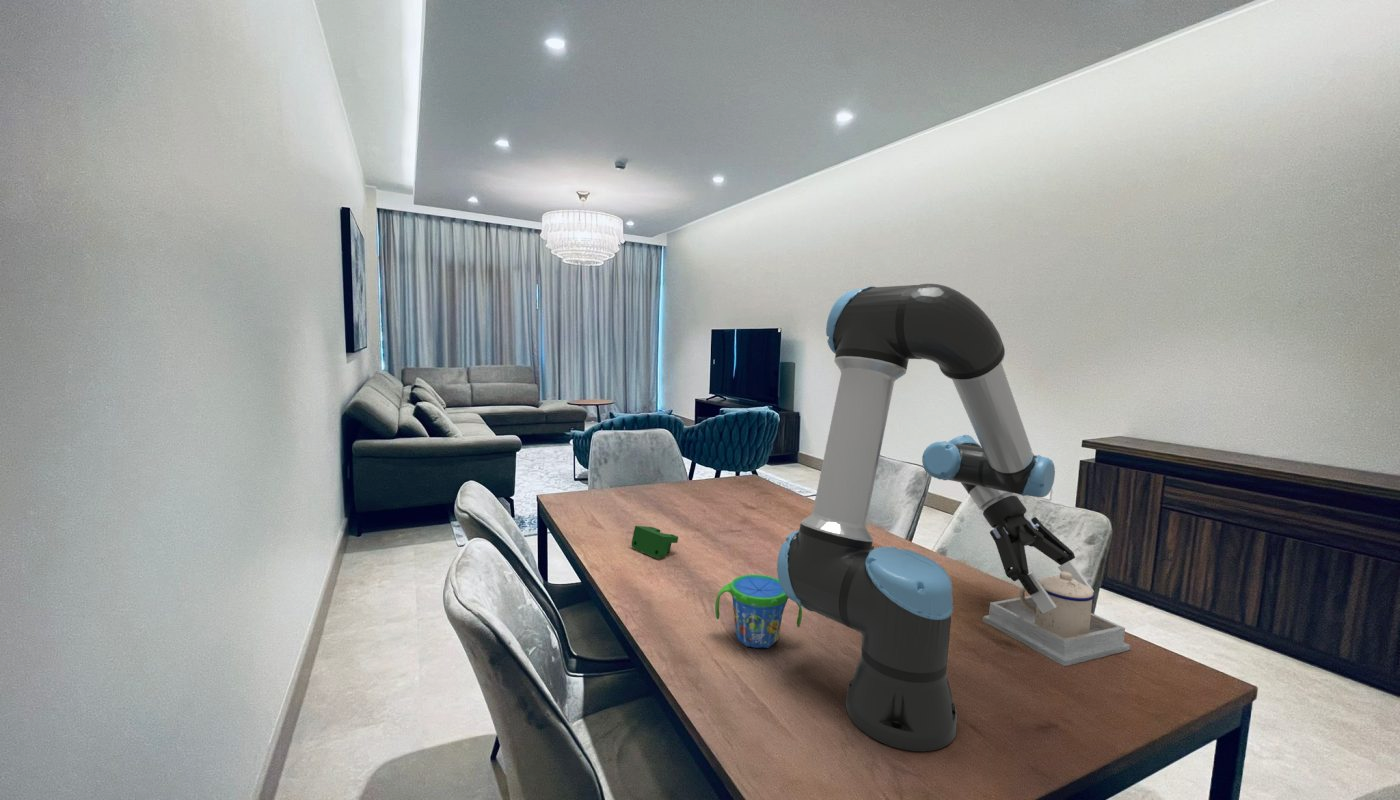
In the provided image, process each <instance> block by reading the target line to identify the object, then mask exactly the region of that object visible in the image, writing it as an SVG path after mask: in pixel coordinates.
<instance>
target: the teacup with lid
mask: <svg viewBox="0 0 1400 800" xmlns="http://www.w3.org/2000/svg"><path fill="white" fill-rule="evenodd" d="M1038 581H1039V582H1040V584H1041V585H1042V586H1043V588H1044V589H1045V591H1046V592H1047V594H1048V595H1049V596H1050V598H1051V599H1052V601H1053V602H1054V604H1055V605H1056V606H1057V607H1055V608H1053V609H1051V610H1049V611H1047V612H1045V613H1042V612H1041V611H1040V609H1039V608H1038V606H1037V605H1036V609H1035V608H1033V607H1031V606H1030V605H1029V604H1028V603H1027V602H1026V600H1025V592H1026V589H1025V587H1024V586H1022V588H1020V590H1019V593H1018V598H1019V597H1020V601H1021V603H1022V605H1023V606H1024V607H1025V608H1026V609H1027V610H1029V611H1031V612H1033V613H1036V615H1035V624H1037V625H1039V626H1041V627H1042V628H1044V629H1046V630H1048V631H1050V632H1052V633H1054V634H1056V635H1058V636H1060V637H1062V638H1064V639H1065V638H1069V637H1074V636H1078V635H1083V634H1087V633H1089V629H1090V618H1091V613H1092V607H1093V606H1092V605H1093V599H1094V598H1095V594H1094V592H1093V591H1094V590H1093V591H1092V590H1091V589H1090V588H1089V587H1087V586H1086V585H1084V584H1082V583H1079V582H1078V581H1077V580H1075V579H1073V578H1072V574H1071V573H1069V572H1061V571H1059V575H1053V576H1044V577H1040V578H1039V579H1038Z"/></svg>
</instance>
